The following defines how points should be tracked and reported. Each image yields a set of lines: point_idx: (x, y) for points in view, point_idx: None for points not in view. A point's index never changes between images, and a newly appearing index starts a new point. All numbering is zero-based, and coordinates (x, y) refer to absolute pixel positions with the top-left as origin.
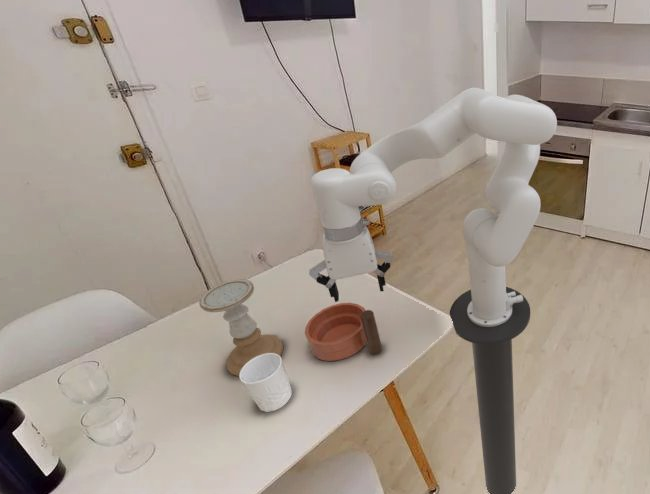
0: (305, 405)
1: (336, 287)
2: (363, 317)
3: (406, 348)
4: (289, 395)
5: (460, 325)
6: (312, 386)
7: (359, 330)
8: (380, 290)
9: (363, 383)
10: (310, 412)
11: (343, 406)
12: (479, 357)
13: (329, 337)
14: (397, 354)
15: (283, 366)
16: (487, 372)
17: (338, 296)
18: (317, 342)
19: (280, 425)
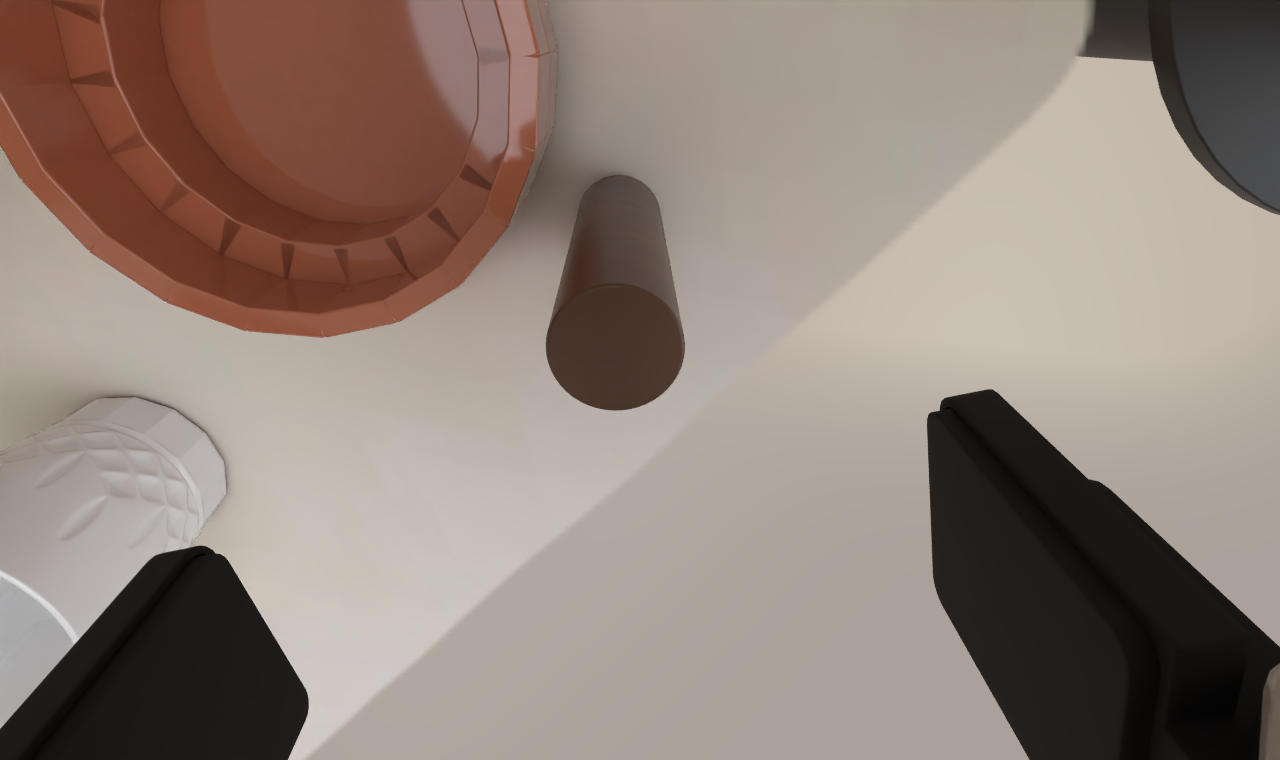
0: (329, 515)
1: (145, 747)
2: (588, 387)
3: (820, 229)
4: (217, 482)
5: (1230, 31)
6: (310, 420)
7: (507, 220)
8: (951, 612)
9: (586, 439)
10: (371, 549)
11: (518, 541)
12: (1117, 27)
13: (225, 38)
14: (761, 271)
15: (96, 580)
16: (1088, 51)
17: (263, 644)
18: (199, 301)
19: (264, 586)
